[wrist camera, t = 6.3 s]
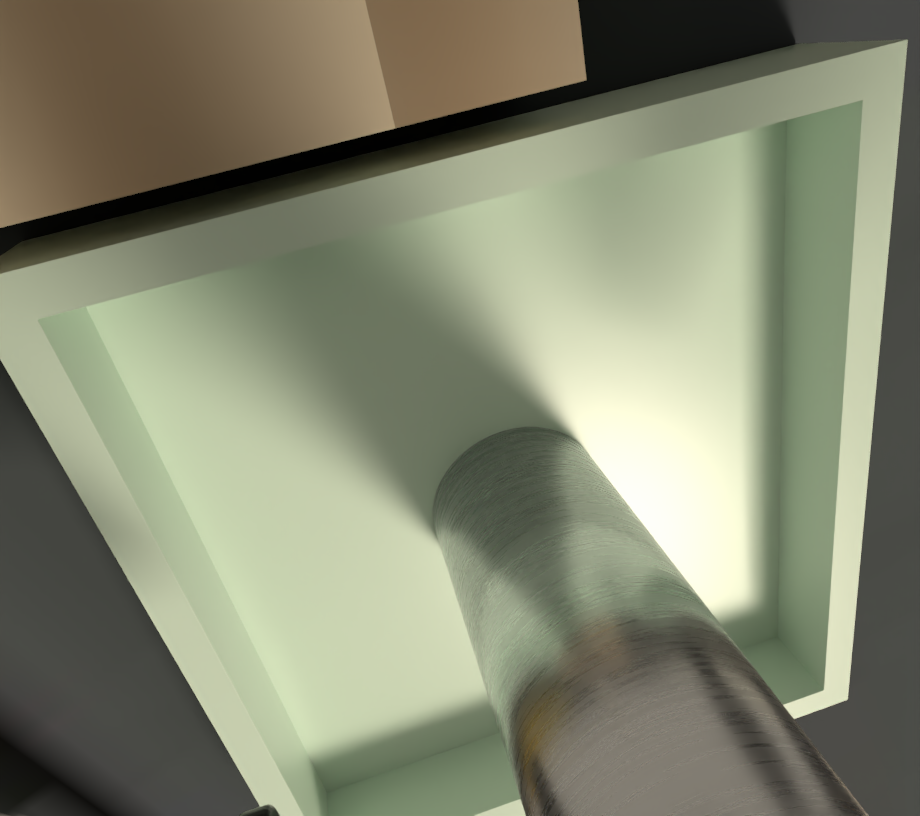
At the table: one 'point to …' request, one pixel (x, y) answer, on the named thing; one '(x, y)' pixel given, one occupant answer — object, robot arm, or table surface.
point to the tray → (477, 398)
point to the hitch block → (245, 83)
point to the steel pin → (609, 651)
